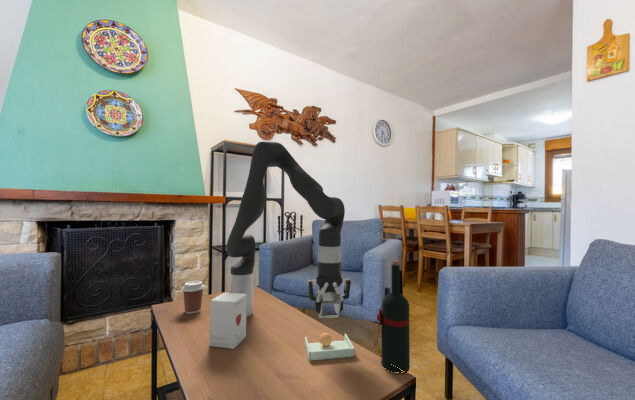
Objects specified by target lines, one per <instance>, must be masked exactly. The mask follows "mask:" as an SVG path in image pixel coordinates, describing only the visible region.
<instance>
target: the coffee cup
mask: <svg viewBox="0 0 635 400" xmlns="http://www.w3.org/2000/svg"><path fill="white" fill-rule="evenodd" d="M205 288H206V286H205V284H203V282H202V281H200V280H191V281H186V282H185V283H184V285H183V286H182V287H181V291H182V292H183V304H184V306H183V307H184V313H185V314H196V313H197V314H198V313H199V312H201V310H202V304H203V303H202V302H203V294H204V293H203V292H204V290H205Z"/></svg>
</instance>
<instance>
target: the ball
mask: <svg viewBox="0 0 635 400" xmlns="http://www.w3.org/2000/svg"><path fill="white" fill-rule="evenodd" d="M332 341H333V338H332V335H331V334H330V333H329V332H323V333H321V334H320V335H319V342H320V343H321V345H323V346H329V345H330V344H331V342H332Z"/></svg>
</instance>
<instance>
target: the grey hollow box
mask: <svg viewBox="0 0 635 400" xmlns="http://www.w3.org/2000/svg"><path fill="white" fill-rule="evenodd" d="M318 289H319V288H318ZM319 291H321V289H319ZM324 305H333V307H334V310H335V313H323V307H324ZM340 307H341V298H340V295H337V294H336V292H327V293H325V292H324V294H323V296H320V314H318V318H319V319H330V318H331V319H332V318H339V317H340V316H339V315H340V313H339V312H340Z"/></svg>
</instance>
